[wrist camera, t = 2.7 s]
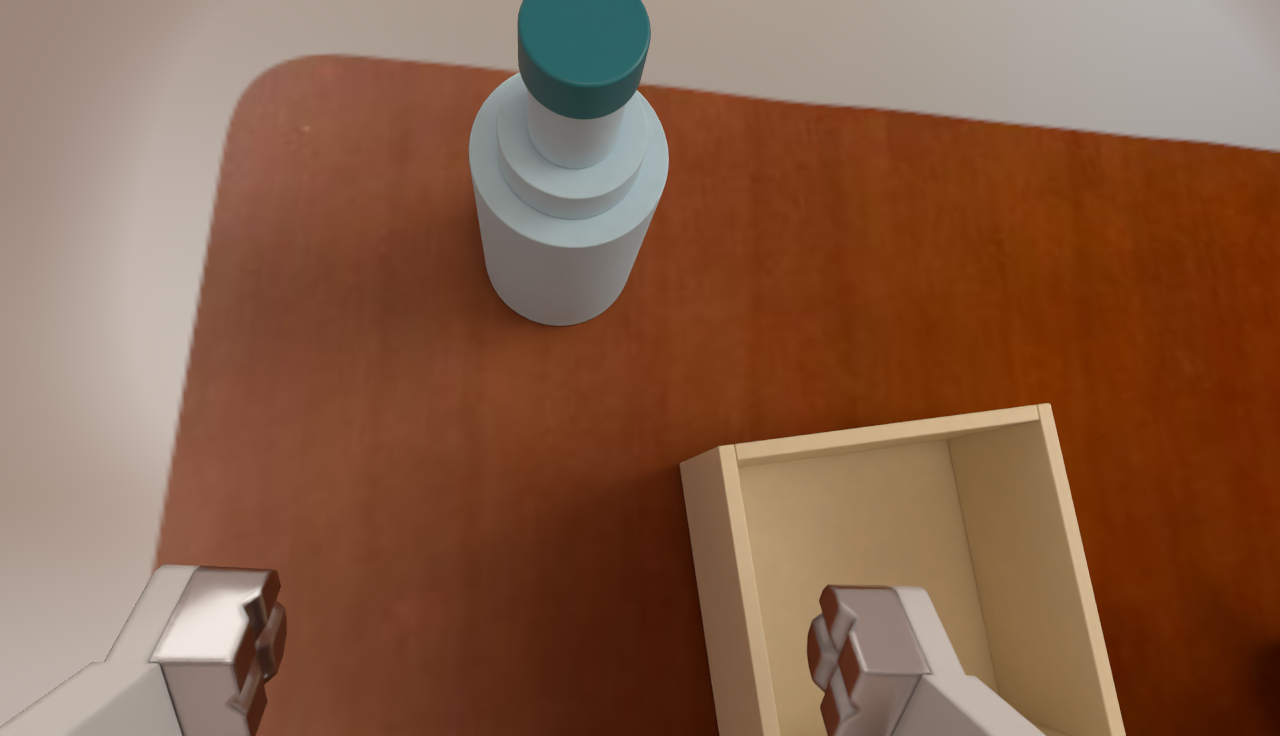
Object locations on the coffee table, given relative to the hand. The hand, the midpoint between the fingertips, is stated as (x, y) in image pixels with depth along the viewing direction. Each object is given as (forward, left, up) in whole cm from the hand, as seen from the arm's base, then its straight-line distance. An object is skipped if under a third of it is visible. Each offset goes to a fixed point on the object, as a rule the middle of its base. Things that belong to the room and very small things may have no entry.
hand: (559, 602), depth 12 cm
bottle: (+2, +11, -18) cm, 21 cm away
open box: (+11, -3, -18) cm, 21 cm away
